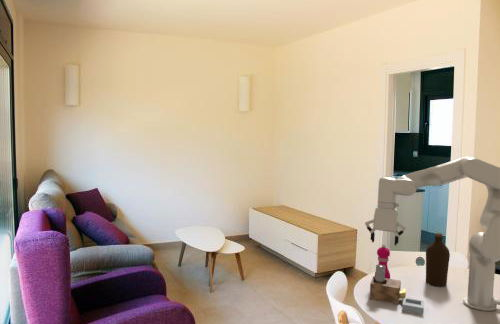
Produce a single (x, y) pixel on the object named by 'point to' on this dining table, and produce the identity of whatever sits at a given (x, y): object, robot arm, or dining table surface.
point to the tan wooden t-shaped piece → (402, 294)
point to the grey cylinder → (380, 274)
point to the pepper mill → (384, 259)
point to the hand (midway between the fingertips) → (384, 243)
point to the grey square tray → (413, 305)
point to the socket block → (385, 290)
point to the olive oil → (437, 262)
